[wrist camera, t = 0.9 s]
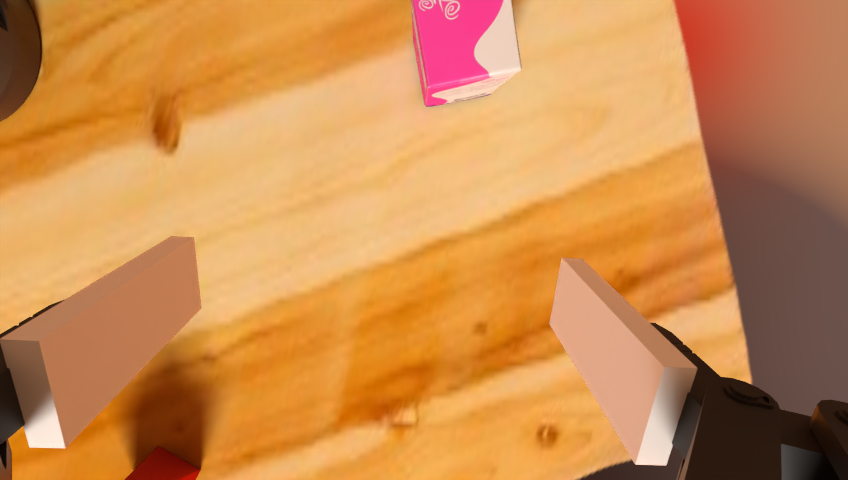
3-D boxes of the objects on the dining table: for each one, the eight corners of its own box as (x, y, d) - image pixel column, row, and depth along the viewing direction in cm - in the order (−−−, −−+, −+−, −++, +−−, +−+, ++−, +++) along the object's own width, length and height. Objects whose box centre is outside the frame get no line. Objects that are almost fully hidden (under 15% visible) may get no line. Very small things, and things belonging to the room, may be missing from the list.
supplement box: (480, 20, 35) (511, -36, 24) (491, 95, 36) (525, 75, 25) (410, 34, 35) (409, -15, 24) (424, 108, 36) (428, 94, 25)
